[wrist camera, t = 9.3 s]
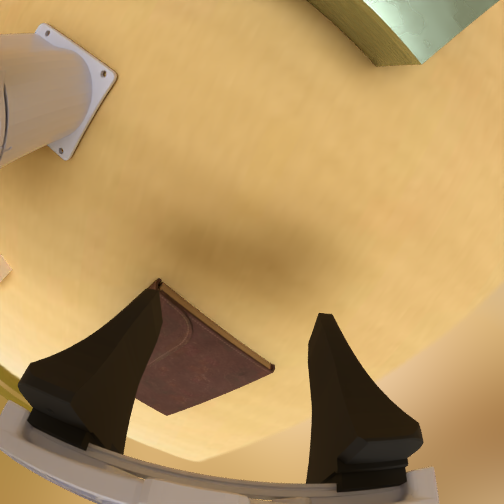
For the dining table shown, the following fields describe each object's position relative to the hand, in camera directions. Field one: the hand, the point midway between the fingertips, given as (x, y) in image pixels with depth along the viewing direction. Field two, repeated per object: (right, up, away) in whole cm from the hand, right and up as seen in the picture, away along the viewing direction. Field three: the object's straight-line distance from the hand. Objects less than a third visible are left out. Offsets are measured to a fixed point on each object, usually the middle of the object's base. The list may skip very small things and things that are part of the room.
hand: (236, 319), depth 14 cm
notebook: (-9, -9, +19) cm, 23 cm away
